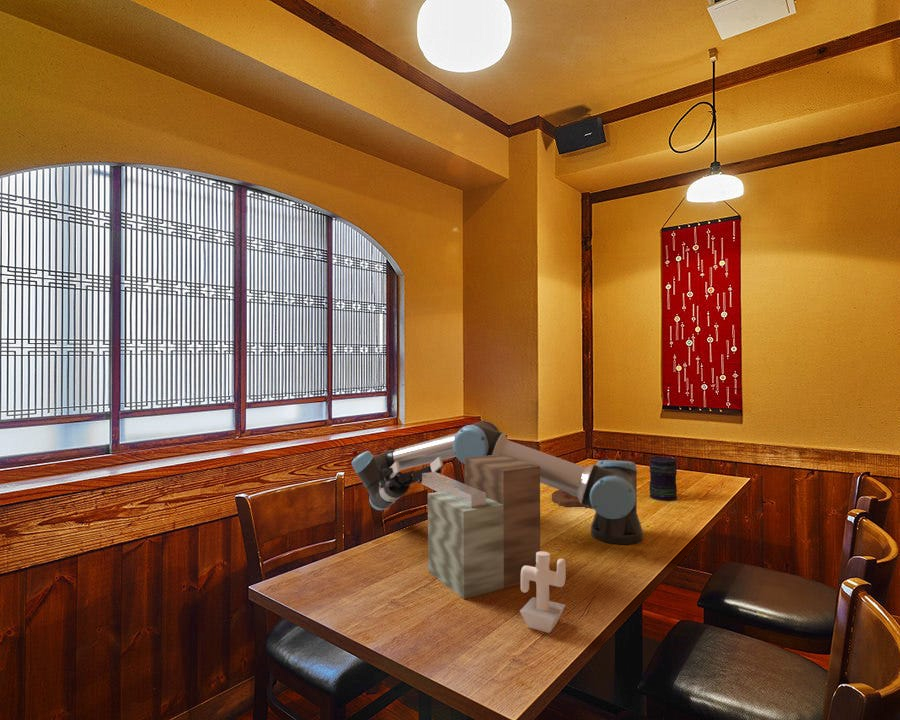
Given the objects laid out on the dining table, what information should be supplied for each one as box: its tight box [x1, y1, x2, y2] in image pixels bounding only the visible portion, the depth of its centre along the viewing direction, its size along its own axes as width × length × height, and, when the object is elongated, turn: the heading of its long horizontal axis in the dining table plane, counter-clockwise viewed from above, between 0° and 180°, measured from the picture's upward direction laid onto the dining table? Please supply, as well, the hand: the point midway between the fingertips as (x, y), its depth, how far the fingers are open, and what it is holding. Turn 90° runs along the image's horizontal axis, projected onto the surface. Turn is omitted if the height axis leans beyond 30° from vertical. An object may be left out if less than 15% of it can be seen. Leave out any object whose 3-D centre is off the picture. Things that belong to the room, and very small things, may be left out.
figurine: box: [519, 550, 567, 634], centre depth 108 cm, size 7×9×15 cm
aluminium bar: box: [421, 472, 486, 508], centre depth 135 cm, size 26×4×3 cm, turn 29°
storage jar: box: [649, 456, 678, 502], centre depth 205 cm, size 10×10×15 cm
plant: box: [551, 489, 593, 509], centre depth 200 cm, size 20×20×11 cm
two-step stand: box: [427, 454, 541, 600], centre depth 133 cm, size 18×22×28 cm
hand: (420, 463), depth 151 cm, fingers open, 13 cm apart
